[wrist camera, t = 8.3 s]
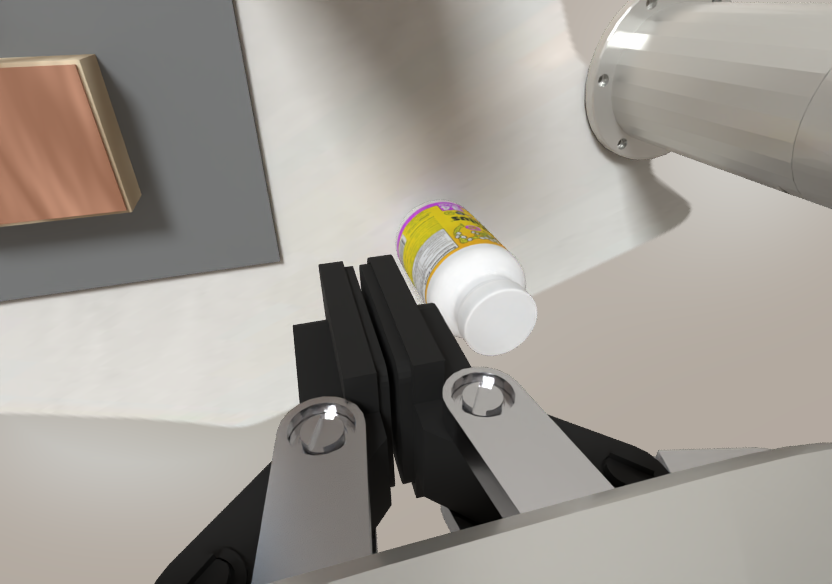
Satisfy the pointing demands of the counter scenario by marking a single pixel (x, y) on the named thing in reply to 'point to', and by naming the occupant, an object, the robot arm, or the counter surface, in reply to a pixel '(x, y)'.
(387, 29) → the counter surface
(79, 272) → the rubber mat
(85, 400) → the counter surface
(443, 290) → the supplement bottle
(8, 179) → the birch tile
